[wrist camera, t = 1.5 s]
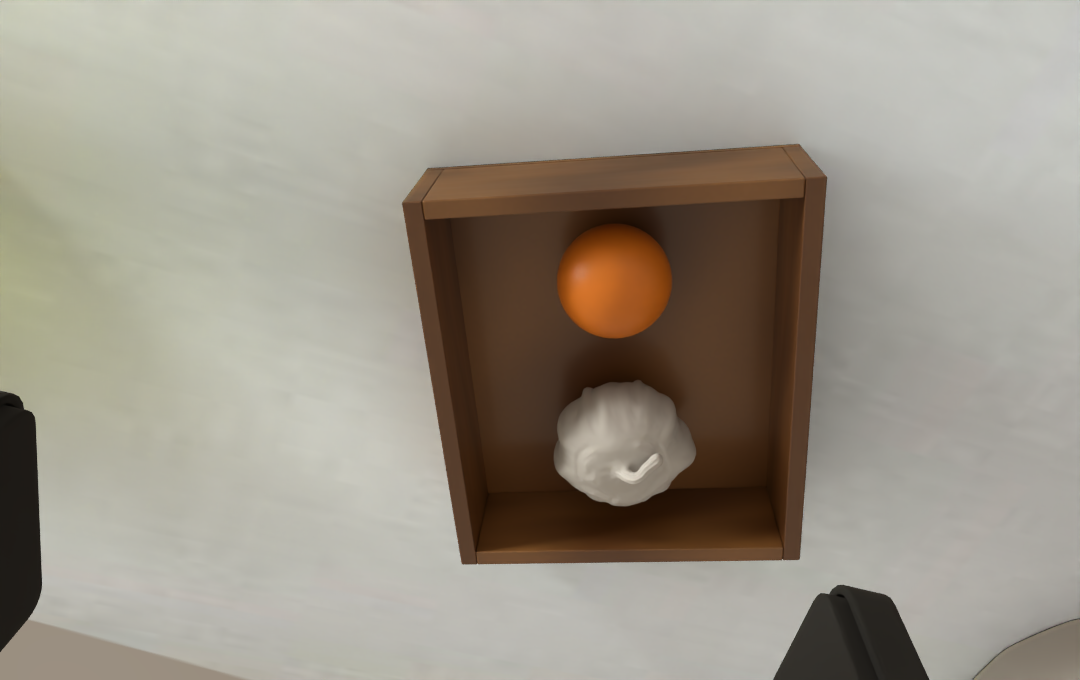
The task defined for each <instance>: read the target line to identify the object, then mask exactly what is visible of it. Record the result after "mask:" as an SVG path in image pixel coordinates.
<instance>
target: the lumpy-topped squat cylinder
mask: <svg viewBox="0 0 1080 680" xmlns="http://www.w3.org/2000/svg"><path fill="white" fill-rule="evenodd" d="M973 680H1080V619H1078V620H1074V621H1070V622H1067V623H1064V624H1061V625H1058V626H1056V627H1053V628H1051V629H1048V630H1046V631H1043V632H1041V633H1038V634H1036V635H1034V636H1032V637H1029V638H1027V639H1025V640H1023V641H1021V642H1019V643H1017V644H1015V645H1013V646H1011V647H1009V648H1007V649H1006V650H1004V651H1003V652H1002V653H1000V654H999V655H998V656H997V657H996V658H995V659H994V660H992V661H991V662H990V663H989V664H988V665H987V666H986V667H985V668H984V669H983V670H982V671H981V672H980V673H979V674H978V675H977V676H976V677H975V678H974V679H973Z"/></svg>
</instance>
